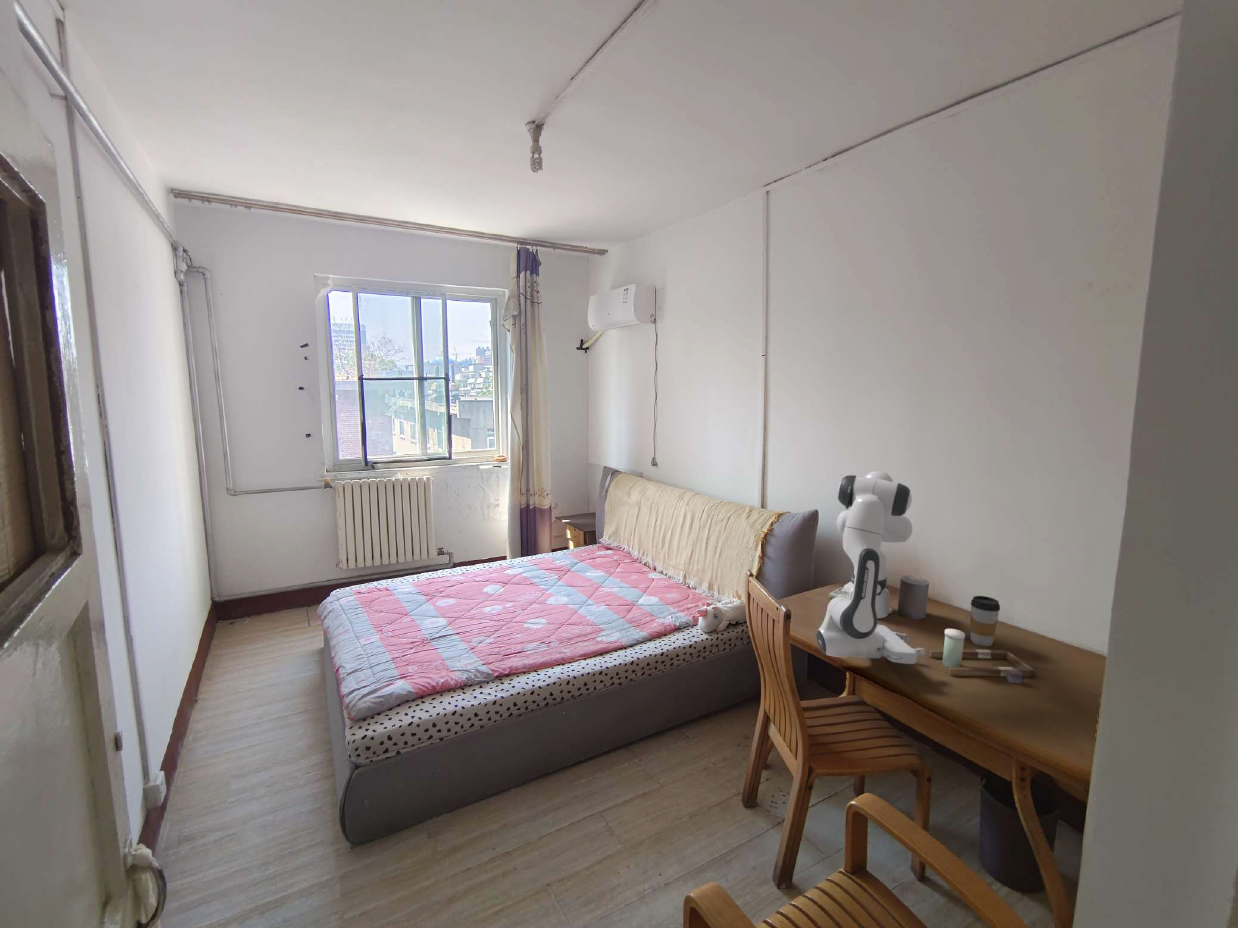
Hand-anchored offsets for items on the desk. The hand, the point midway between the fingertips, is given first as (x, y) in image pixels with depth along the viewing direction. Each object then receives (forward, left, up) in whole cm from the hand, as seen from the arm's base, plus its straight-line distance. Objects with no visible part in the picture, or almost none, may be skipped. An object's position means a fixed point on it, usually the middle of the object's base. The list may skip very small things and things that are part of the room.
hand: (915, 643), depth 175 cm
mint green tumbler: (0, +12, -7) cm, 14 cm away
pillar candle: (-39, +19, -7) cm, 44 cm away
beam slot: (+2, +20, -7) cm, 22 cm away
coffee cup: (-16, +31, -7) cm, 36 cm away
